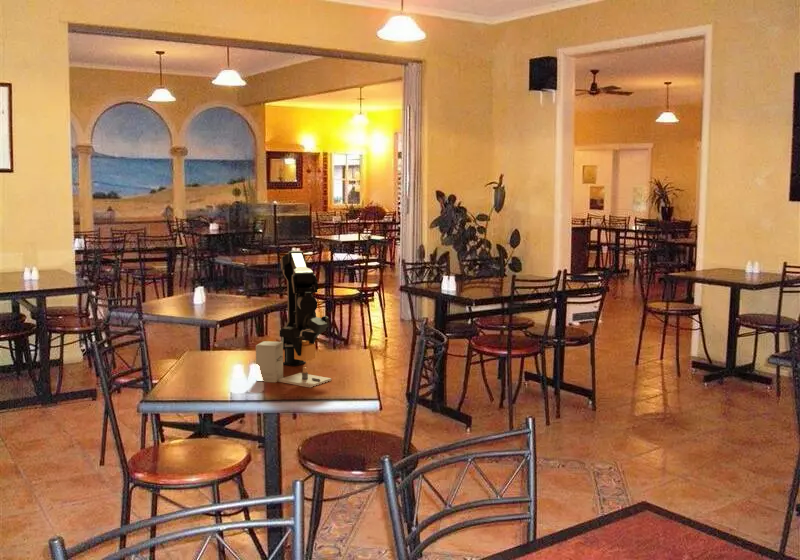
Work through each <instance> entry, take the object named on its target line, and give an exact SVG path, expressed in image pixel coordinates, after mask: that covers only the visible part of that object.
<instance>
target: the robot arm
mask: <svg viewBox="0 0 800 560" xmlns="http://www.w3.org/2000/svg"><path fill="white" fill-rule="evenodd" d="M280 259H281V260H280V270H282V275H283V276H284V278H285V279H286V287H287V289H286V290H287V322H286V323H285V325H284V326H283V327H281V329H279V337H281V341H280V342H283V350H284V361H283V365H285V366H286V365H287V366H291V367H296V366H300V365H304V364H306V363H307V361H303V360H297V359H294V349H295V351H296V353H297V355H298V356H301V350H302V340H308V341H309V343H312V344H316V343H315V342H316V339H317V338H318V336H320V335H321V334H322V333H325V332H326V331H328V330H329V327H330V317H329V316H327V315H324V316H322V317H318V316H317V314H316V310H317V309H318V305H319V304H318V301H317V299H316V298H315V297H314V294H315V293H318V291H319V284H318V283H319V282H318V278H317V276H316V274H315V273H314V271H313V269H311V268H309V267H307V263H306V256H305V255H304V251H303V250H290V251H288V252H287V254H285V255H284V254H283V256H281V258H280Z"/></svg>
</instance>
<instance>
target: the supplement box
mask: <svg viewBox="0 0 800 560" xmlns="http://www.w3.org/2000/svg"><path fill="white" fill-rule="evenodd" d="M283 362H284V349H283V342H281V341H269V340H267V341H265V340H263V341H261V342H259V343H258V344H256V345H255V365H256V364H258V365H259V366H260V370H261V374H262V377H263V380H264V382H263V383H277V382H278V379H281V378H284V364H283Z"/></svg>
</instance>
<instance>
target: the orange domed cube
mask: <svg viewBox="0 0 800 560" xmlns="http://www.w3.org/2000/svg"><path fill="white" fill-rule="evenodd" d="M294 359H297V360H303V361H305V362H307V361H311V360H314V359H316V343H314V344H312V343H309V341H308V340H302V350H301V356H298V355H297V353H296V351H295V349H294Z"/></svg>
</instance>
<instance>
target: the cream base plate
mask: <svg viewBox="0 0 800 560" xmlns="http://www.w3.org/2000/svg"><path fill="white" fill-rule="evenodd" d="M328 381H329V382H331V381H332V378H331V377H326V376H325V377H324V376H321V375H315V374H309V372H308V367H306V366H305V367H302V372H298V373H294V374H291V375H288V376H285V377H284V376H283V378H281V379H278V381H277V382H279V383H284V384H289V385H294V386H300V387H306V388H313V386H314V387H317V386H319V384H320V385H322V383H323V384H325V382H326V383H329V382H328ZM316 385H317V386H316Z"/></svg>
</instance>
